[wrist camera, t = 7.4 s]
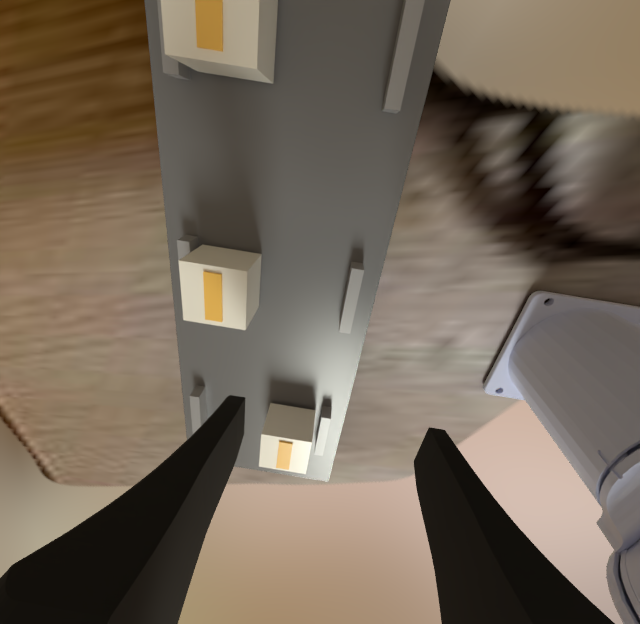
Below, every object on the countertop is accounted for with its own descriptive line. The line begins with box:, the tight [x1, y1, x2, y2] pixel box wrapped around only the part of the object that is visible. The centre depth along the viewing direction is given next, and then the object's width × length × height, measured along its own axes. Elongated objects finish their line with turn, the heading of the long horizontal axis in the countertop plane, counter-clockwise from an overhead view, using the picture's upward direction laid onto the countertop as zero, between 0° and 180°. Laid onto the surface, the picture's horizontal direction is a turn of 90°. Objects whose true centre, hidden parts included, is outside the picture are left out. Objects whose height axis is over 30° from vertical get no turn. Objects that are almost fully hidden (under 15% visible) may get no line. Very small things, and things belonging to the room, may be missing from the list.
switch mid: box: [178, 245, 262, 330], centre depth 15 cm, size 3×3×3 cm
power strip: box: [145, 0, 450, 482], centre depth 17 cm, size 11×32×4 cm, turn 172°
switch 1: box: [161, 0, 278, 84], centre depth 10 cm, size 3×3×3 cm
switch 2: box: [259, 403, 316, 474], centre depth 20 cm, size 3×3×3 cm
